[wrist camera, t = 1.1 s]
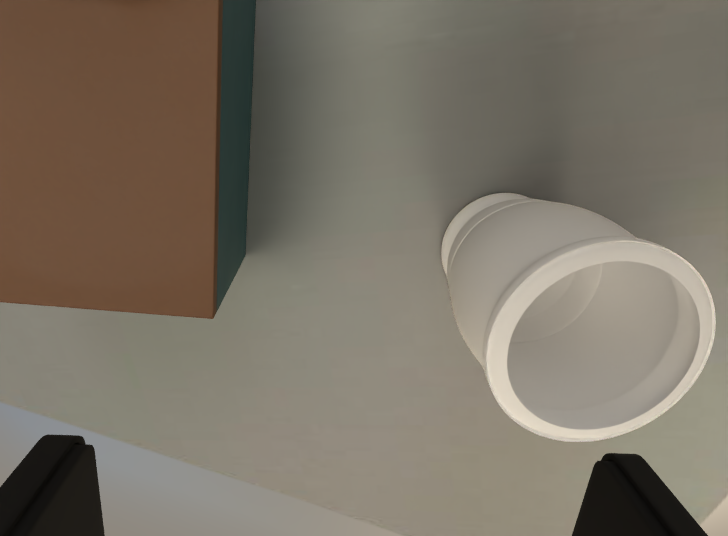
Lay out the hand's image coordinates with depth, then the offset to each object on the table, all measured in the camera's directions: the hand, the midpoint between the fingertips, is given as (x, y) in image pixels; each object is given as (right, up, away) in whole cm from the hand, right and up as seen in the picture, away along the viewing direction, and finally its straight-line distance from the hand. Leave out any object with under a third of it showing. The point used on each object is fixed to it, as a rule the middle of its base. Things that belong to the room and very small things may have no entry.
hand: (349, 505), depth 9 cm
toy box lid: (-13, +11, +13) cm, 22 cm away
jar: (+10, +6, +27) cm, 29 cm away
